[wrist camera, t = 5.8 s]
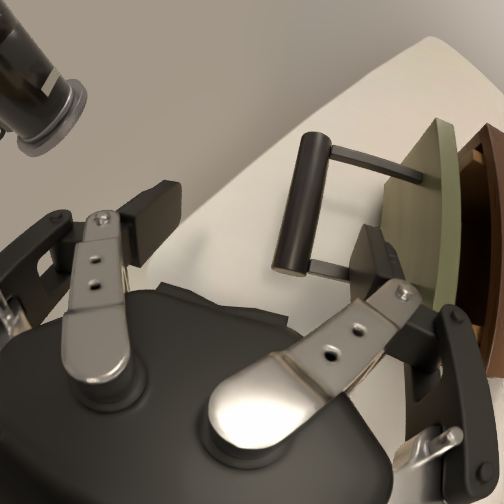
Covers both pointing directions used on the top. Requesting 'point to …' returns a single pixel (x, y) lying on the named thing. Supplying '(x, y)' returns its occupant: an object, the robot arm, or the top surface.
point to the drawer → (405, 218)
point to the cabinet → (493, 247)
